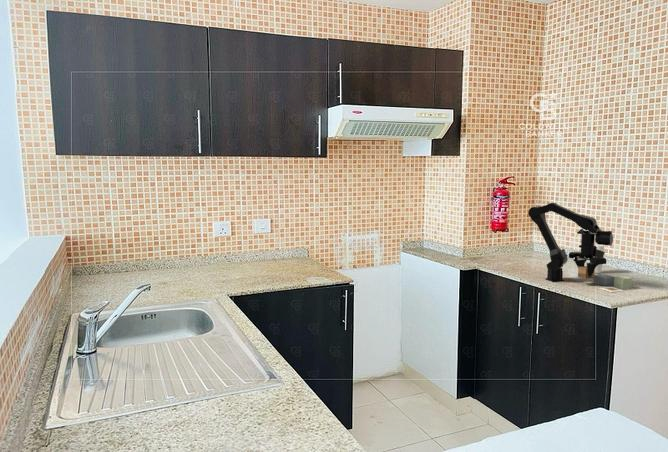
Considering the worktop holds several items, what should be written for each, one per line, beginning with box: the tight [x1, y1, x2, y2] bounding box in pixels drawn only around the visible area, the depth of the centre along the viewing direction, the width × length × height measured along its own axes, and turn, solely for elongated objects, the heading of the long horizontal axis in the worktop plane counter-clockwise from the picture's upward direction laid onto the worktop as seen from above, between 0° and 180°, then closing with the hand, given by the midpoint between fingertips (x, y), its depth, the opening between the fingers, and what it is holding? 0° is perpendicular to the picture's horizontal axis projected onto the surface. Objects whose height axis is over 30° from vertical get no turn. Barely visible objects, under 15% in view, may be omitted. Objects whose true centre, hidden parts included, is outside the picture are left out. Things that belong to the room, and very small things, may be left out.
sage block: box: [613, 275, 633, 290], centre depth 235 cm, size 5×5×5 cm
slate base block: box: [592, 273, 616, 287], centre depth 244 cm, size 7×7×4 cm
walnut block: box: [577, 265, 596, 280], centre depth 242 cm, size 5×5×5 cm
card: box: [599, 286, 625, 293], centre depth 232 cm, size 7×7×1 cm
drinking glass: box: [594, 243, 605, 274], centre depth 267 cm, size 7×7×15 cm
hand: (586, 275), depth 242 cm, fingers closed on walnut block, 5 cm apart
